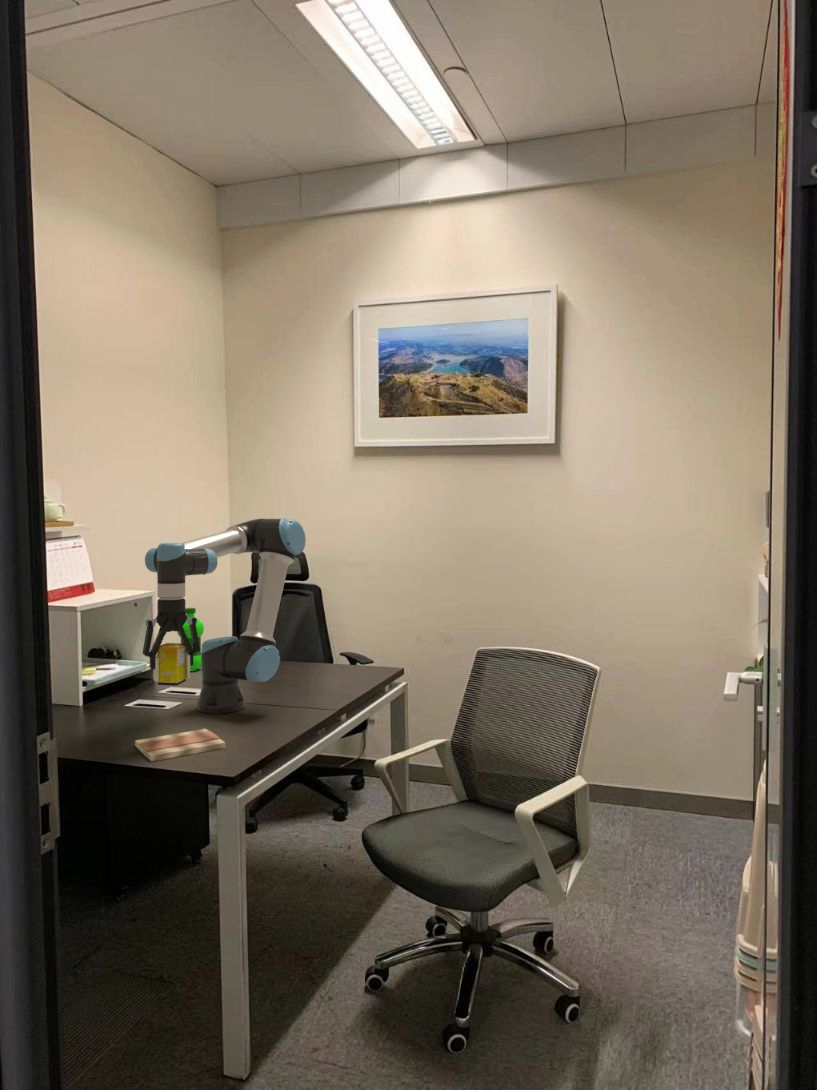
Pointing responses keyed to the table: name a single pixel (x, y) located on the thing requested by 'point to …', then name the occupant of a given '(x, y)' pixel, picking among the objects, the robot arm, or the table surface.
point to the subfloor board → (179, 744)
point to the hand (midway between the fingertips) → (171, 678)
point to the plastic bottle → (200, 630)
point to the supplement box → (172, 664)
